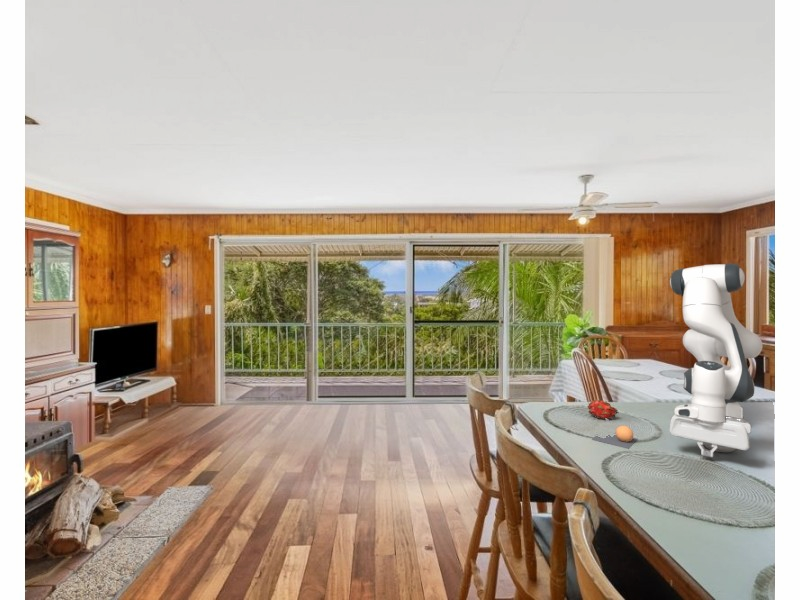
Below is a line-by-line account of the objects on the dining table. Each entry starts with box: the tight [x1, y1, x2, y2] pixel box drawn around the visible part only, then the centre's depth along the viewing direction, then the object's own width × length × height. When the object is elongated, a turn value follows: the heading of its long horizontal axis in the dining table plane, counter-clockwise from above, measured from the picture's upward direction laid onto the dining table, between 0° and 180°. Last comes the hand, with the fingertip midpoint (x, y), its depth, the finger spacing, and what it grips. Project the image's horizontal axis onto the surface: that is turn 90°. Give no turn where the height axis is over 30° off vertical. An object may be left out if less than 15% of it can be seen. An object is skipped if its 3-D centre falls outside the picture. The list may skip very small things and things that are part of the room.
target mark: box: [591, 435, 638, 450], centre depth 146 cm, size 12×12×1 cm
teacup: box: [702, 442, 737, 453], centre depth 138 cm, size 14×11×8 cm
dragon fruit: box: [586, 399, 619, 419], centre depth 171 cm, size 8×8×12 cm
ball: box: [615, 425, 634, 442], centre depth 144 cm, size 6×6×6 cm
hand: (707, 455), depth 128 cm, fingers closed
